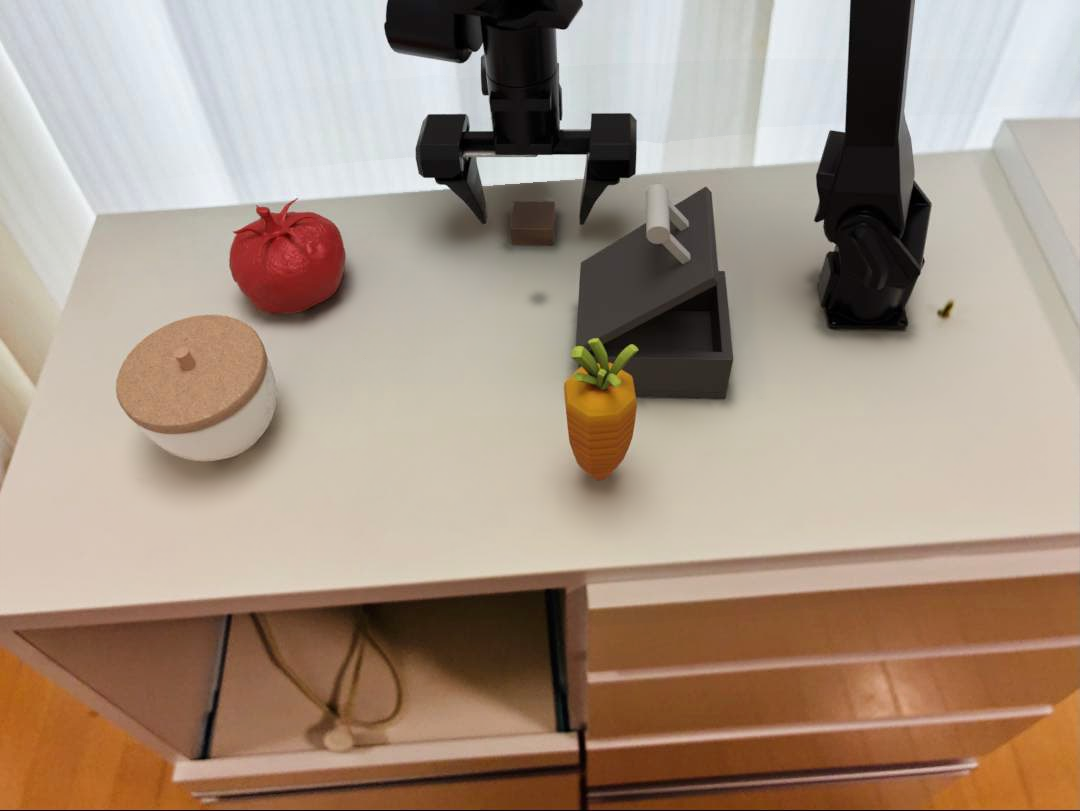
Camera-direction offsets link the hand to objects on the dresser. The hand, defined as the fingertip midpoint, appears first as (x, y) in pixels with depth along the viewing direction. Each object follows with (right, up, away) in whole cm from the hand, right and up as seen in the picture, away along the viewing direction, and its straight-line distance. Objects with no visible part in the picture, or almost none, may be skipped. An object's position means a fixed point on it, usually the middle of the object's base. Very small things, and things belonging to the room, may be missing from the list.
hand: (533, 221), depth 78 cm
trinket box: (-25, -19, -11) cm, 33 cm away
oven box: (+10, -13, -9) cm, 19 cm away
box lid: (+9, -8, -16) cm, 20 cm away
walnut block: (0, -1, +1) cm, 1 cm away
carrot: (+5, -23, -16) cm, 28 cm away
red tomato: (-21, -7, -2) cm, 23 cm away
